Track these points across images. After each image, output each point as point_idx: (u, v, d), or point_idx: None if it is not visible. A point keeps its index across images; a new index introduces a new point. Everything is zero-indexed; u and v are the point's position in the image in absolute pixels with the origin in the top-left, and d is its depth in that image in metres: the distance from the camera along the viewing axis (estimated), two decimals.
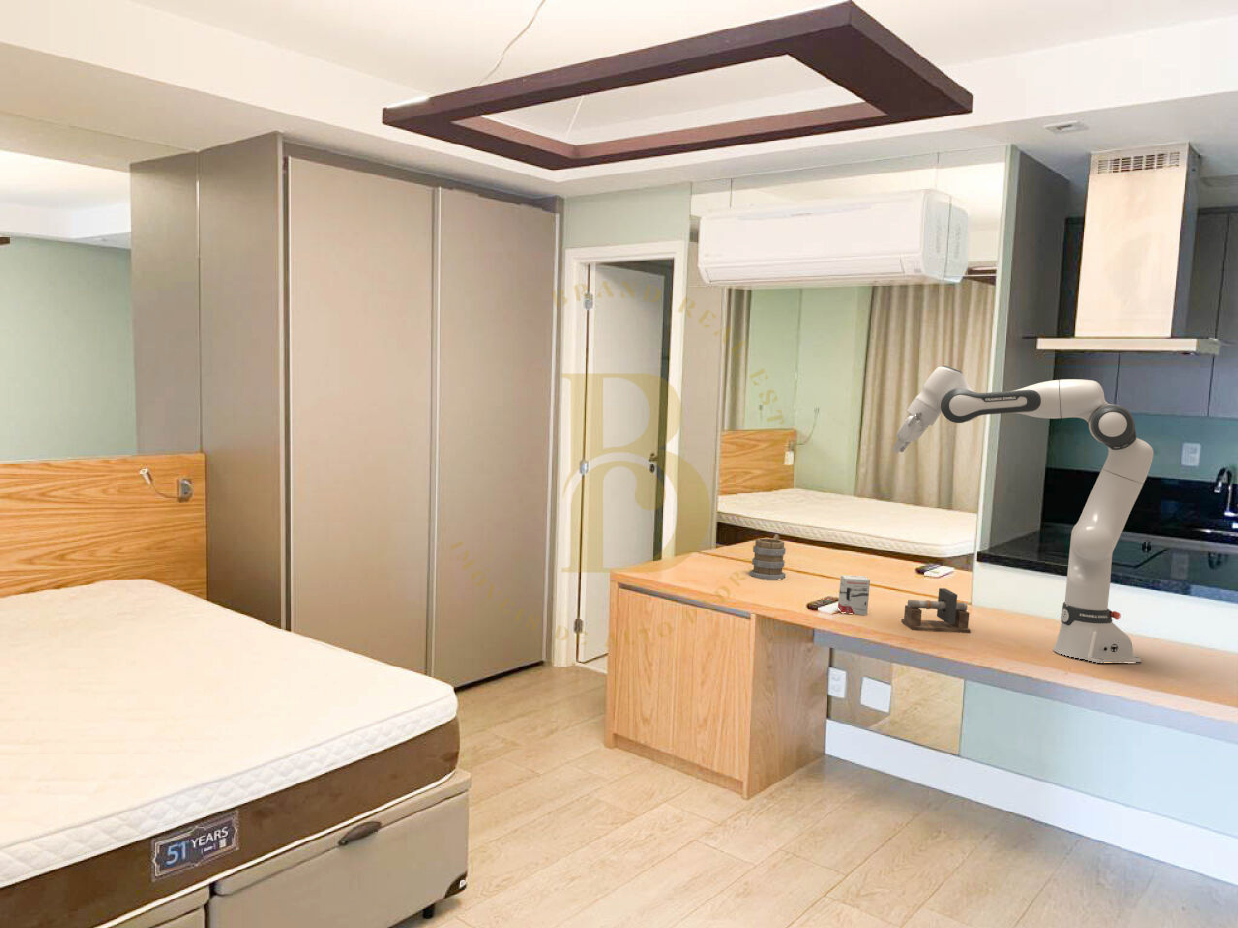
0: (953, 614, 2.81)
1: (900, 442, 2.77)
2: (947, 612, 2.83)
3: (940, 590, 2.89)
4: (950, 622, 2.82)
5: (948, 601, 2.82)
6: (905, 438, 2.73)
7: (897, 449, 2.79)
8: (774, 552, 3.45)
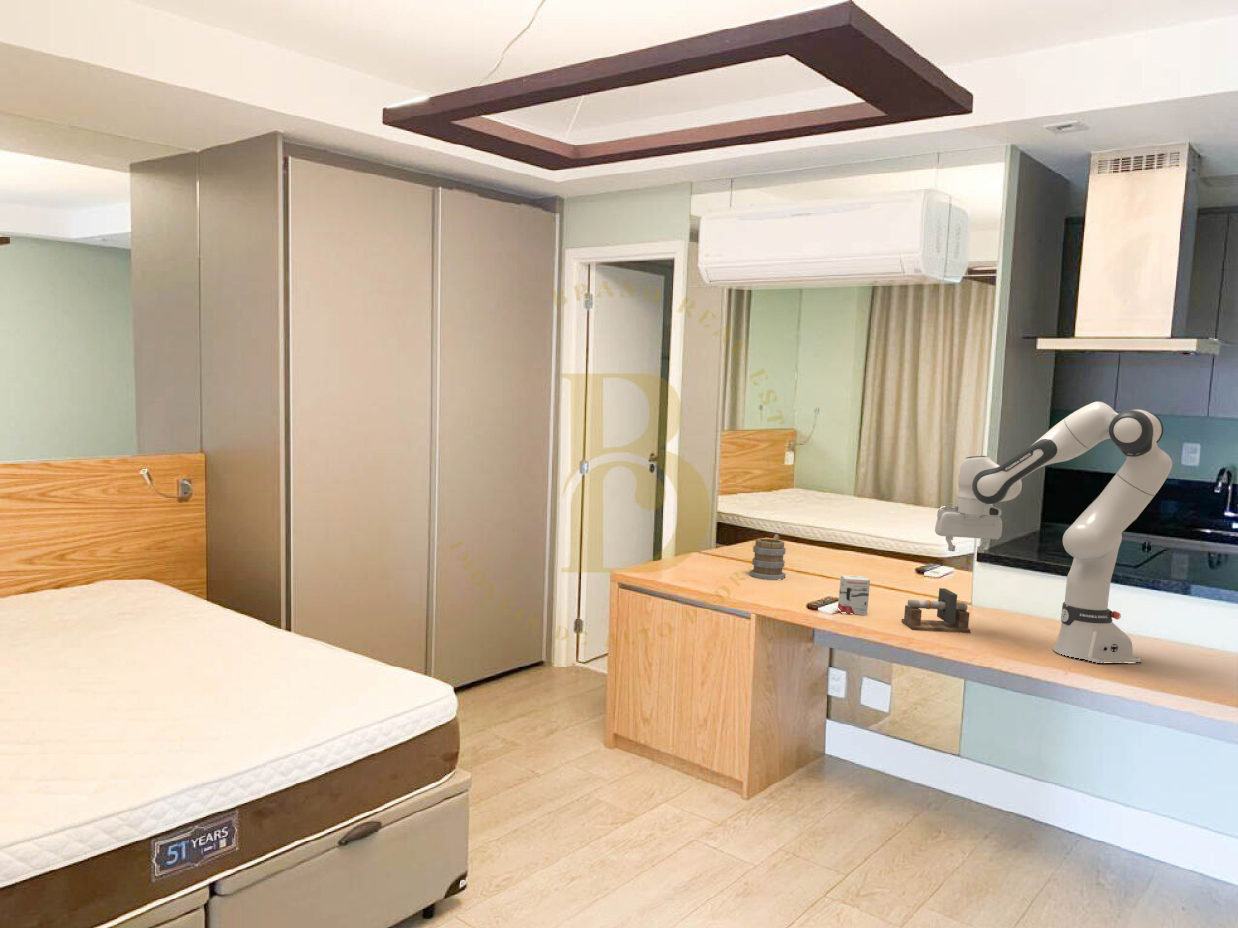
0: (953, 614, 2.81)
1: (947, 539, 2.84)
2: (947, 612, 2.83)
3: (940, 590, 2.89)
4: (950, 622, 2.82)
5: (948, 601, 2.82)
6: (938, 532, 2.82)
7: (950, 547, 2.84)
8: (774, 552, 3.45)
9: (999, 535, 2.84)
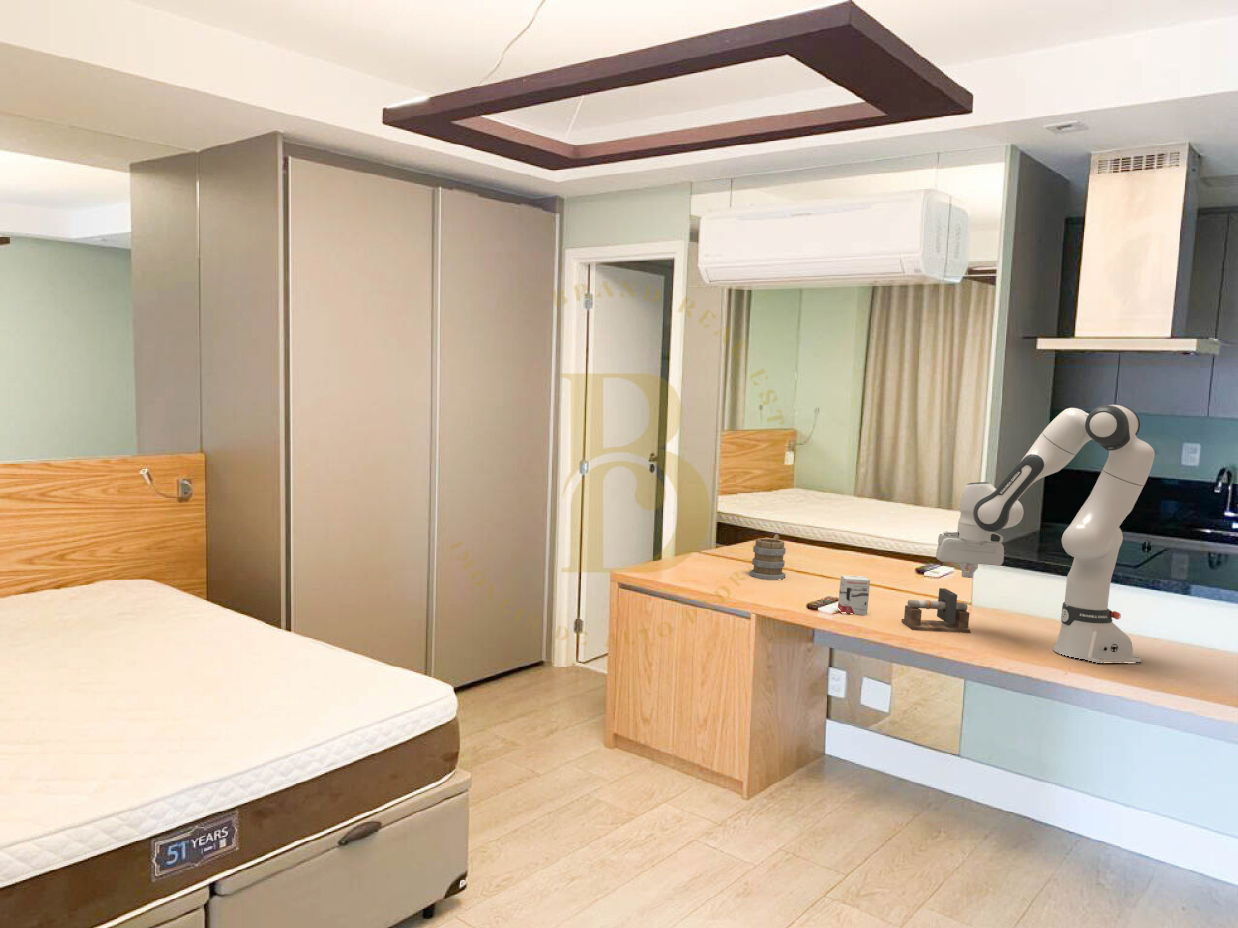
0: (953, 614, 2.81)
1: (960, 565, 2.85)
2: (947, 612, 2.83)
3: (940, 590, 2.89)
4: (950, 622, 2.82)
5: (948, 601, 2.82)
6: (939, 557, 2.83)
7: (963, 573, 2.85)
8: (774, 552, 3.45)
9: (1001, 561, 2.84)
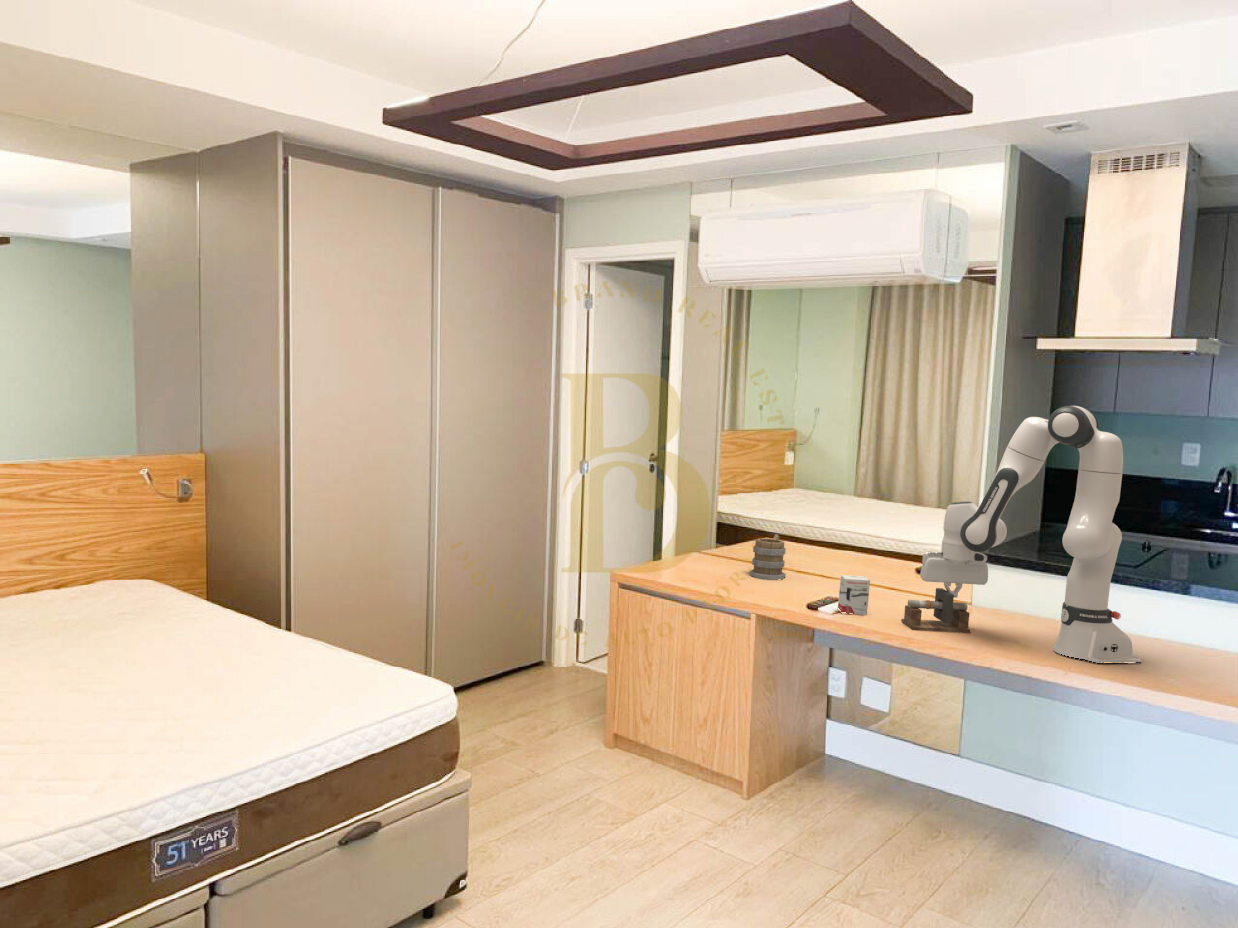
0: (950, 614, 2.81)
1: (945, 585, 2.85)
2: (944, 612, 2.83)
3: (937, 590, 2.89)
4: (947, 622, 2.82)
5: (945, 601, 2.82)
6: (923, 577, 2.84)
7: None
8: (774, 552, 3.45)
9: (985, 581, 2.84)
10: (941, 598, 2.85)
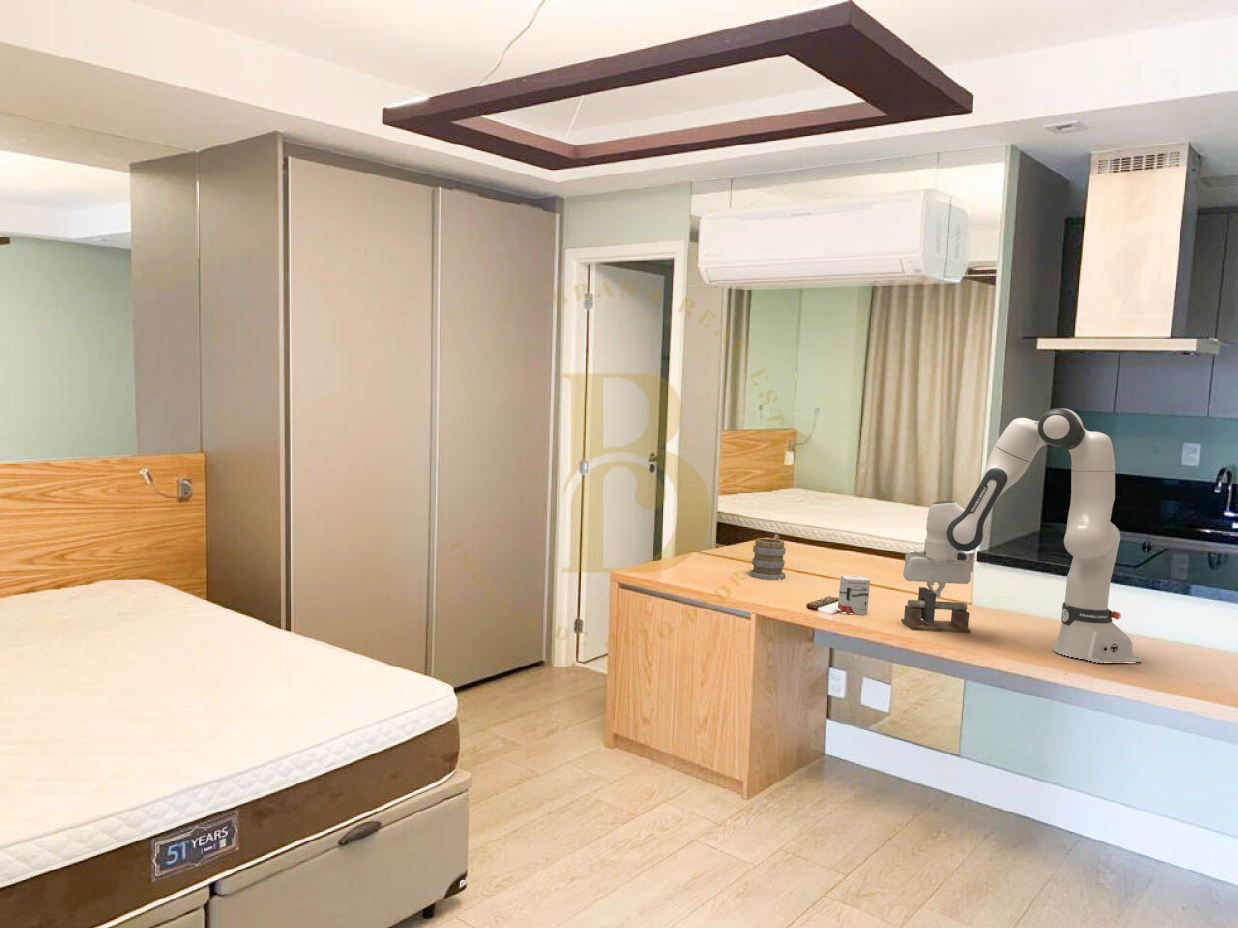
0: (932, 613, 2.81)
1: (928, 584, 2.85)
2: (926, 611, 2.82)
3: (920, 589, 2.89)
4: (929, 621, 2.81)
5: (927, 600, 2.82)
6: (906, 577, 2.83)
7: None
8: (774, 552, 3.45)
9: (968, 580, 2.84)
10: (924, 597, 2.85)
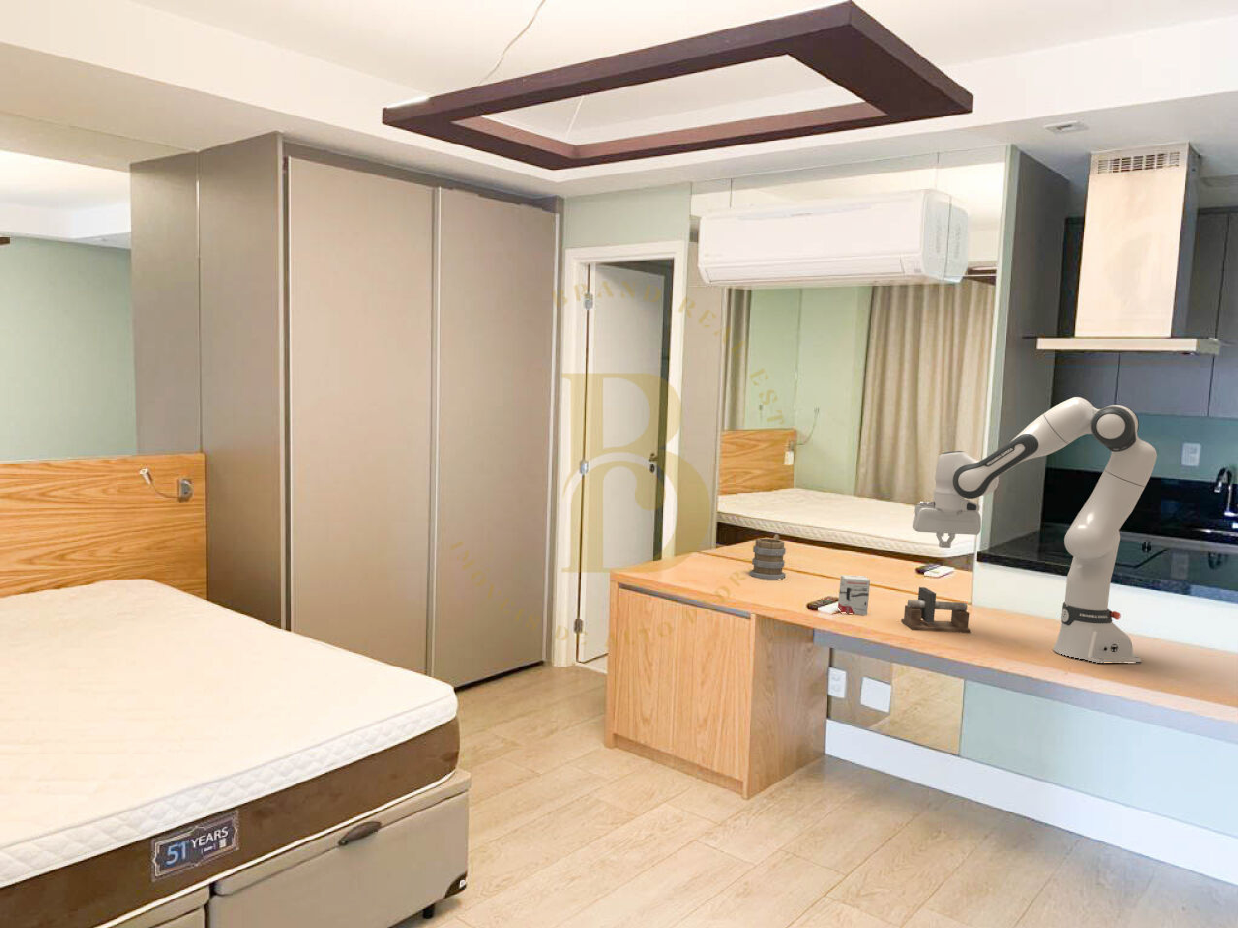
0: (932, 613, 2.81)
1: (938, 535, 2.84)
2: (926, 611, 2.82)
3: (920, 589, 2.89)
4: (929, 621, 2.81)
5: (927, 600, 2.82)
6: (916, 528, 2.82)
7: (941, 543, 2.84)
8: (774, 552, 3.45)
9: (978, 530, 2.83)
10: (924, 597, 2.85)
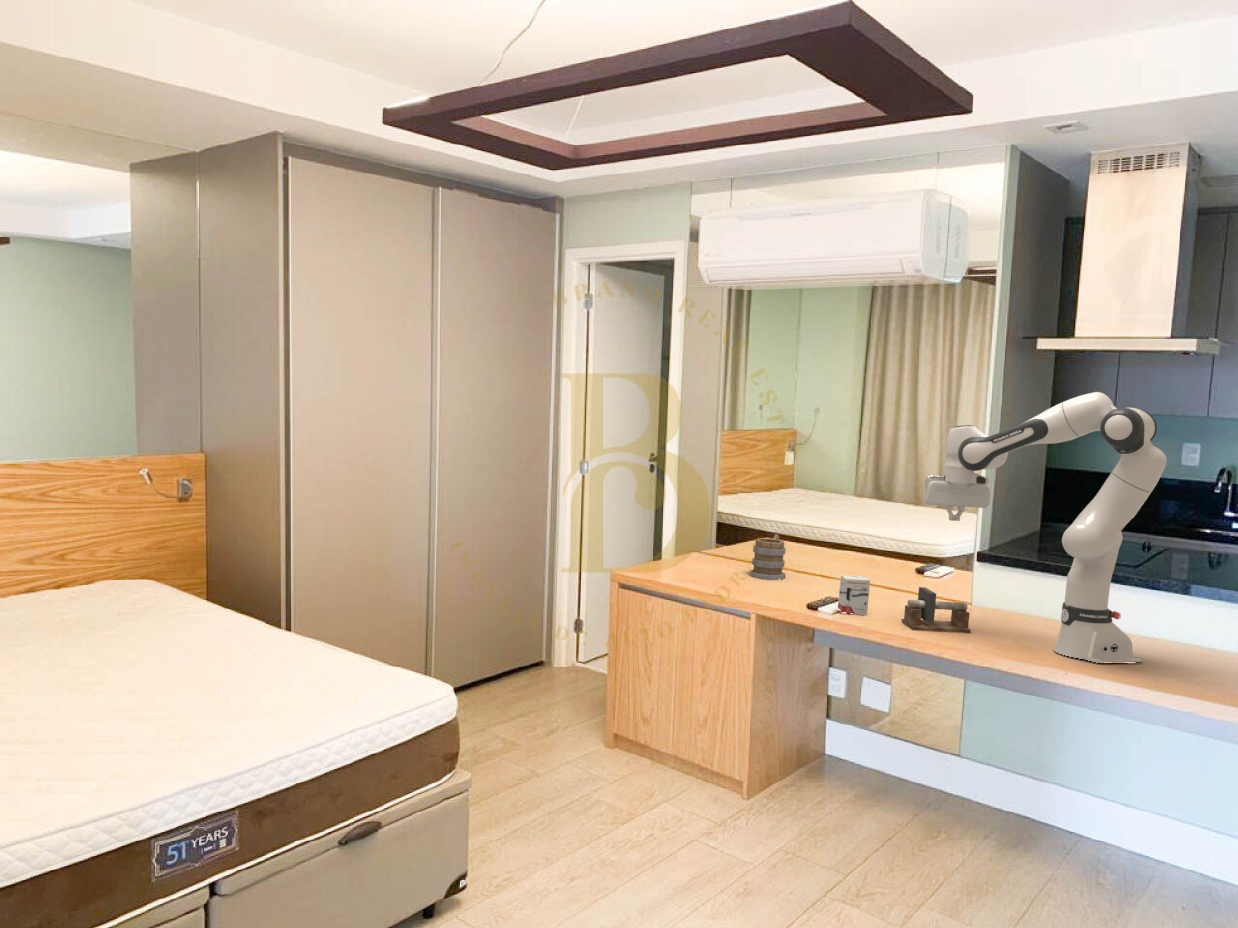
0: (932, 613, 2.81)
1: (947, 508, 2.88)
2: (926, 611, 2.82)
3: (920, 589, 2.89)
4: (929, 621, 2.81)
5: (927, 600, 2.82)
6: (926, 501, 2.87)
7: (950, 516, 2.88)
8: (774, 552, 3.45)
9: (987, 504, 2.87)
10: (924, 597, 2.85)
